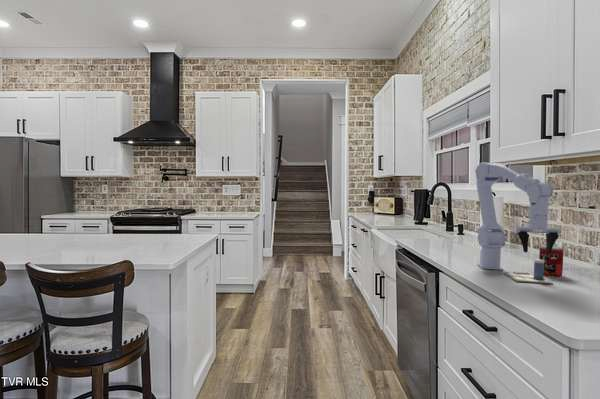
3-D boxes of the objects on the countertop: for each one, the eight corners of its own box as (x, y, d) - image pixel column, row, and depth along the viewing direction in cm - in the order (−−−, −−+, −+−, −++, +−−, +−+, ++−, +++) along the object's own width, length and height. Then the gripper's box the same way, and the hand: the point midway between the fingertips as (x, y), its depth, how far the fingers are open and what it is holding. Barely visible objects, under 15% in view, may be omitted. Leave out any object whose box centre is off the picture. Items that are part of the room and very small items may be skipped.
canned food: (534, 273, 156) (535, 245, 156) (548, 272, 159) (549, 245, 159) (552, 277, 149) (553, 248, 149) (567, 276, 152) (568, 248, 152)
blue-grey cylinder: (532, 277, 145) (532, 258, 145) (541, 278, 144) (542, 259, 144) (535, 279, 142) (536, 260, 142) (544, 280, 141) (545, 260, 141)
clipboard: (503, 273, 154) (503, 271, 154) (537, 275, 152) (537, 273, 152) (516, 282, 140) (516, 279, 140) (553, 284, 138) (553, 281, 138)
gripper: (520, 215, 141) (519, 253, 141) (565, 217, 138) (563, 255, 139) (514, 214, 148) (512, 250, 148) (556, 215, 145) (555, 252, 146)
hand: (536, 252), depth 144 cm, fingers open, 7 cm apart
